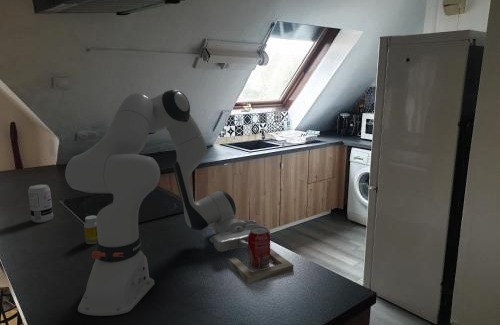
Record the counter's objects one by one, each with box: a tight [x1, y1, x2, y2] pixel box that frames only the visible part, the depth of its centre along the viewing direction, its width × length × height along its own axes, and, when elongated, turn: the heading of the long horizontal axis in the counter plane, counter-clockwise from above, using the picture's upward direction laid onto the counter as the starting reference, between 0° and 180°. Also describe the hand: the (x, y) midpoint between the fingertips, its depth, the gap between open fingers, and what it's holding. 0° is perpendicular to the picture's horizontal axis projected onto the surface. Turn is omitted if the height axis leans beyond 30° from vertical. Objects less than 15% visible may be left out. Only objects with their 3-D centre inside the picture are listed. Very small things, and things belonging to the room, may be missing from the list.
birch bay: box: [228, 248, 294, 285], centre depth 119 cm, size 14×16×2 cm
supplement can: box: [27, 183, 54, 224], centre depth 160 cm, size 8×8×15 cm
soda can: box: [247, 226, 271, 269], centre depth 120 cm, size 7×7×12 cm
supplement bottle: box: [83, 215, 98, 245], centre depth 138 cm, size 5×5×10 cm
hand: (252, 246), depth 122 cm, fingers closed, pressing on soda can
